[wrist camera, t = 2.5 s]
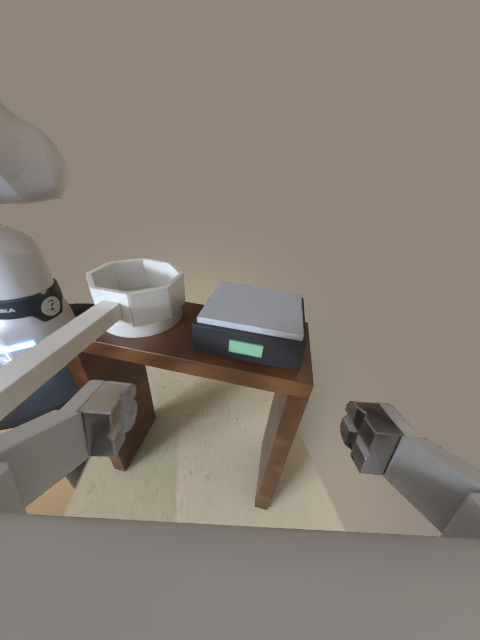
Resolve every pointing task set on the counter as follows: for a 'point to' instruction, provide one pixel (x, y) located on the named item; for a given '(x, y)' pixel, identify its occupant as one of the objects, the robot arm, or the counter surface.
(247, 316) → the kitchen scale
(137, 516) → the counter surface
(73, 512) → the counter surface
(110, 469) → the counter surface
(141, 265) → the scoop bowl
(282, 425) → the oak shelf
